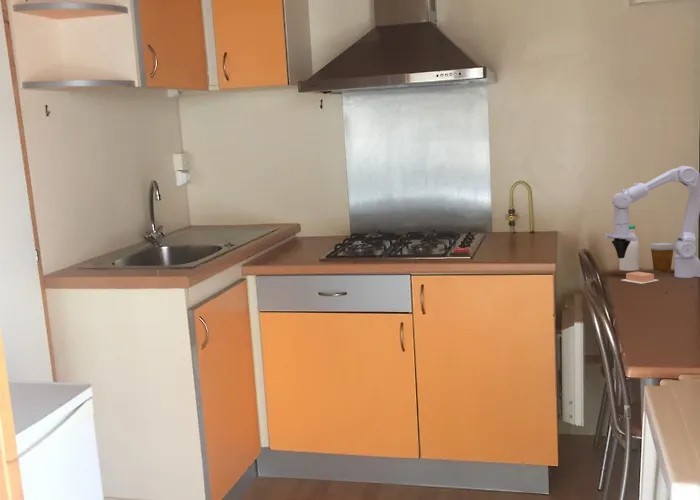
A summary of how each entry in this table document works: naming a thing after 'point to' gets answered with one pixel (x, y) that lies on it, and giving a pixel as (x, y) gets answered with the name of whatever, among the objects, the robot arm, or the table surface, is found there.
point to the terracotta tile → (639, 276)
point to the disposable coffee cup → (662, 256)
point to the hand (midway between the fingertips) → (621, 258)
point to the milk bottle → (630, 254)
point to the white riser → (638, 282)
